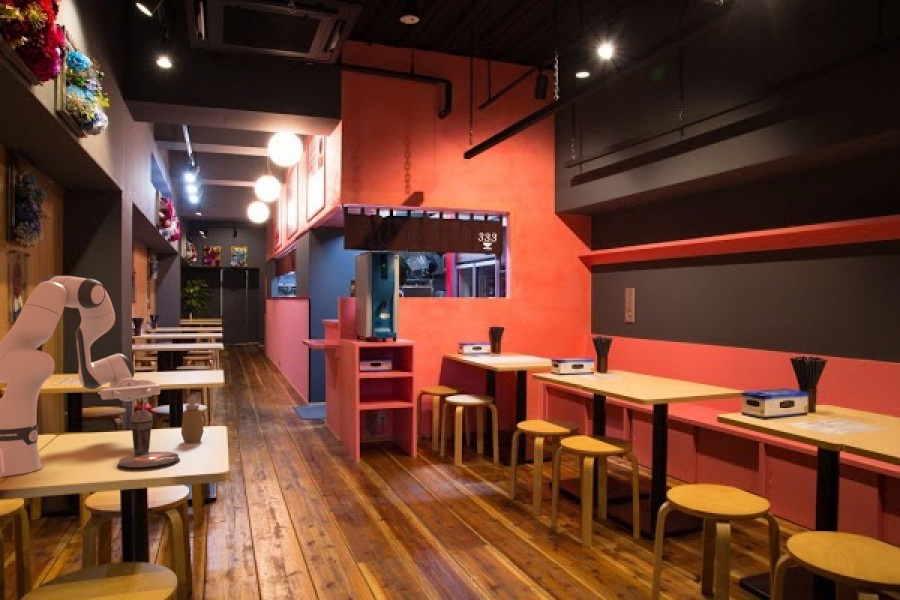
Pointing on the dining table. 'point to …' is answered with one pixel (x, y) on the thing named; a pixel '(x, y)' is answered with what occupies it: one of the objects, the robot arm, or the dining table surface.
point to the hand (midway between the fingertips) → (134, 393)
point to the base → (148, 468)
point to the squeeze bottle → (192, 422)
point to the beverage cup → (141, 430)
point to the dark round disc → (148, 460)
